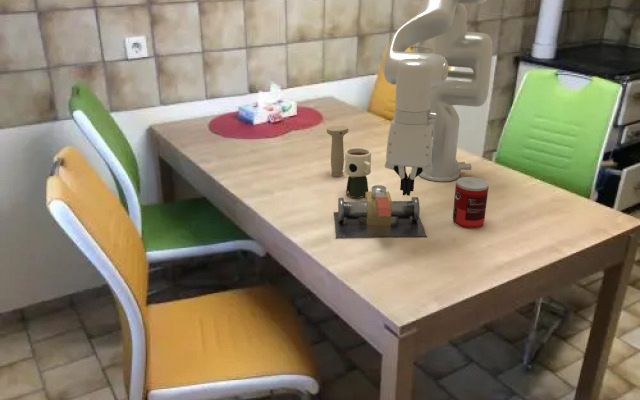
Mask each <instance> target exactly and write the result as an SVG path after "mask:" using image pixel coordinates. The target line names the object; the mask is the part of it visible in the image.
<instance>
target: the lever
mask: <svg viewBox="0 0 640 400" xmlns="http://www.w3.org/2000/svg"><path fill="white" fill-rule="evenodd" d="M370 192H371V196H372V197H374V198H375V200H376V209H377V213H378V216H390V213H391V207H390V203H389V200H388V197H386V192H387V187H386V186H384V185H380V184H379V185H375V184H374V185H373V186H371V191H370Z"/></svg>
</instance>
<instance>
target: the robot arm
mask: <svg viewBox="0 0 640 400" xmlns="http://www.w3.org/2000/svg"><path fill="white" fill-rule="evenodd" d="M487 1H488V0H420V2H419V6H418V10H417V11H418V12H417V14H416V15H415V16H413V17H411V18H410V19H409V20H408V21H406V22H405V23H404V24H402V25H401V26H400V27H399V28H398V29H396V31H395V32H394V34H393V35H392V36H391V40H390V42H389V45H388V47H387V50H386V51H387V52H386V54H385V59H384V62H383V63H384V64H383V76H384V79H385V80H386V82H387V83H389V84H391V85H395V104H394V105H395V106H394V117H393V119H391V122H390V126H389V130H388V136H387V142H386V143H387V145H386V155H385V159H386V160H385V164H384V168H386V169H388V170H391V171H393V172H395V173H396V174H397V175H398V176H399V178H400V184H399V185H400V188H399V189H400V191H402V196H409V197H410V196H411V192H414V190H415V189H414V188H415V180H416V178H417V177H418V176H420V177H421V178H423V179H424V180H429V181H433V182H440V183H441V182H452V181H455V180H457V179H459V177H460V174H461V170H464V171H471V170H472V164H471V163H466V162H465V161H457V152H458V151H457V150H458V142H459V141H458V139H459V131H460V130H459V129H460V117H459V113H458V112H457V110H456V108H455V107H454V106H460V107H461V106H462V107H463V106H464V107H475V108H476V107H482V106H483V105H485V103H486V102H487V100H488V96H489V87H490V78H491V77H490V76H491V72H492V71H491V70H492V68H491V67H492V59H493V40H492V38H491V36H490V35H489V34H487V33H484V32H475V31H474V32H473V31H472V32H471V31H468V30H467V27H468V26H467V25H468V24H467V23H468V10H467V8H466V6H465V5H464V4H466V5H467V4H469V5H473V4H474V5H481V4H484V3H486V2H487ZM430 39H433V53H431V52H430V53H428V52H419V51H418V52H416V51H415V52H414V51H406V50H408V49H409V48H410V47H411V46H414V45H416V44H418V43H421V42H425V41H428V40H430ZM450 67H451V68H453V67H454V68H466V69H467V68H468V69H471V70H472V71H461V70H450V69H449V68H450ZM406 167H407V168H408V167H410V168H411V170H410V173H409V175H408V173H407V169H406Z"/></svg>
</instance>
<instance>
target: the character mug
mask: <svg viewBox="0 0 640 400" xmlns="http://www.w3.org/2000/svg"><path fill="white" fill-rule="evenodd" d="M344 162H345V163H344V164H345V165H344V172H345V174H346V175H347V176H348V177H347V183H346V189H345V193H346V195H348V194H349V195H348V197H351V198H362V197H364V196H365V195H366V192H369V183H368V177H367V176H368V175H370V174H371V171H372V170H371V166H372V152H371V150H370V149H368V148H365V147H350V148H347V149H345V152H344Z"/></svg>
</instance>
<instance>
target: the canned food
mask: <svg viewBox="0 0 640 400" xmlns="http://www.w3.org/2000/svg"><path fill="white" fill-rule="evenodd" d="M454 191H455V192H454V201H453V213H452V220H453V223H454V224H455V225H457V226H458V227H460V228H464V229H479V228H481V227H482V226H483V225H484V223H485V219H486V218H485V217H486V210H487V202H488V194H489V182H488V181H486V180H485V179H483V178H481V177H476V176H475V177H474V176H462V177H460V178H459V177H458V178H457V179H456V183H455V190H454Z"/></svg>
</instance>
